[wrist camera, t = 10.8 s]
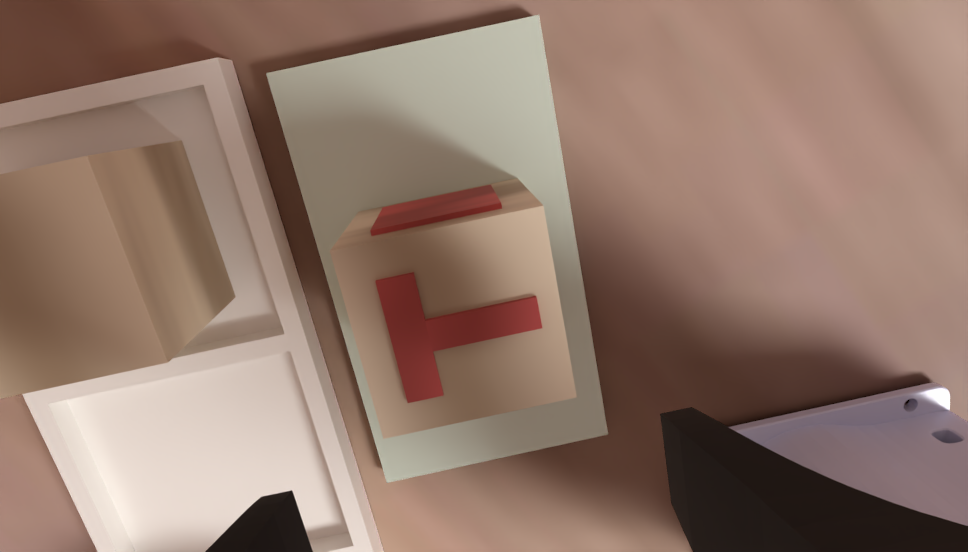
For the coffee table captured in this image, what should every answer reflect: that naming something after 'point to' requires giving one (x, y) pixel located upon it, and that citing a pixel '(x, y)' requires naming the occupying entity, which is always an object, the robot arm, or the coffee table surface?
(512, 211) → the lettered cube
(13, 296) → the plain cube
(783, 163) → the coffee table surface
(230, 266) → the sorting tray
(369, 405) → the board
